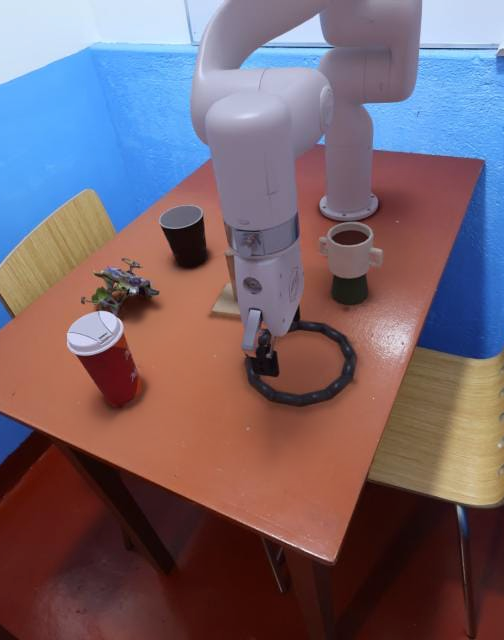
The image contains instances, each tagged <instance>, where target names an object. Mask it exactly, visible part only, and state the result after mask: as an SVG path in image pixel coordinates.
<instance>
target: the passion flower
mask: <svg viewBox="0 0 504 640" xmlns="http://www.w3.org/2000/svg"><path fill="white" fill-rule="evenodd" d="M121 261H122V262H123V263H126V264H128V265H129V269H128V270H126V271H124V270H123V269H122V268H118V267H115V266H106V268H104V270H101V271H100V273H99V272H96V270H92V273H93V275H94V276H96V277H97V278H100V279H102V280H103V281H104V282H105V285H106V287H104V286H103V285H101V286H100V287H97V288H96V289H95V293H93V294H92V295H91V300H88V299H87V300H86V296H81V297H80V303H81V304H82V305H85V304H86V303H91V304H93V306H97V305H99V304H100V310H99V311H105V308H106V307H107V306H109V308H110V310H111V313H112V314H113V315H115V316H116V317H117V314H118V313H119V312H120V310H121V309H122V306H121V305H122V304H123V303H124V300H125V299H126V298H127V297H128V296H131V297H134V296H136V295H139V296H141V297H142V298H146V299H153V296H159V295H160V290H157V289H154V288H153V283H152V282H150V280H149V279H144V278H142V277H139V276H138V275H136V274H135V273H134V272H133V269H141V268H144V266H142V265H141V264H140V263H139V262H136V261H135V260H131V259H128V258H125V257H121ZM115 284H116V285H115ZM114 292H119V295H118V298H117V299H115V298H114V296H113V293H114ZM123 292H124V293H125V294H124V296H123V298H122V299H121V295H122V293H123ZM110 301H111V302H113V303H114V304H111V303H109V302H110Z"/></svg>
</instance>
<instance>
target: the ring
mask: <svg viewBox="0 0 504 640" xmlns="http://www.w3.org/2000/svg"><path fill="white" fill-rule="evenodd" d="M297 331H305V332H311V333H319V334H322V335H323V336H325V337H327V338H328V339H330V340H332V341H333V342H335V343H336V344H337V345H338V348H339V350H340V351H341V354H342V355H343V358H344V361H343V364H342V369H341V372H340V375H339V376H338V377H336V378H335V379H334V380H333V381H332V382H331V383H329V384H328V386H326V387H325V388H323V389H319V390H315V391H311V392H306V393H302V394H297V393H292V392H285V391H281V390H276V389H275V388H274V387H272V386H271V385H270V384H269V383H267V382H266V381H264V380H263V379H262V378H261V375H258V374H255V373H253V370H252V365H251V360H250V356H246V357H245V359H244V362H243V364H244V368H245V372H246V376H247V380H248V384H249V386H250V387H251V388H253V389H254V390H255V391H256V392H258V393H259V394H260V395H261V396H263V397H264V398H265V399H266V400H267V401H269V402H270V403H275V404H282V405H287V406H292V407H297V408H304V407H307V406H312V405H315V404H319V403H323V402H328V401H331V400H333V399H334V398H335V397H336V396H337V395H338V394H340V393H341V392H342V391H343V390H344V389H345V388H347V387H348V386H349V385H350V384H351V383H352V382H353V379H354V376H355V372H356V368H357V363H358V355H357V353H356V351H355V349H354V347H353V346H352V344H351V342H350V339H349V338H348V336H347V335H345V334H344V333H342V332H340V331H339V330H338V329H336V328H333V327H332V326H330V325H329V324H327V323H325V322H316V321H309V320H301V319H300V320H299V321H298V322H292V323H291V325H290V328H289V330H288V331H287V333H286V334H288V333H293V332H297ZM277 337H278V336H275V338H277ZM267 338H268V335H266V334H260V335H259V337H258V344H259V345H260V346H267Z"/></svg>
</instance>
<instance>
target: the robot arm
mask: <svg viewBox="0 0 504 640" xmlns="http://www.w3.org/2000/svg"><path fill="white" fill-rule="evenodd" d="M317 15H318V16H319V17H318V18H319V24H320V29H321V34H322V37H323V39H324V41H325V42H326V43H327V44H328V45H329V46H331V47H332V48H330V49H328V50H326V52H324V53H323V55H322V56H321V58H320V59H319V62H318V63H317V64H318V65H317V69H315V68H311V67H307V66H288V67H287V66H285V67H284V66H283V67H261V68H260V67H259V68H241V67H242V65H243V64H244V63H245V62H246V60H248V58H250V56H251V55H252V54H254V52H255V51H257V50H258V49H260V48H261V47H262V46H264V45H266V44H267V43H269V42H271V41H272V40H274V39H276V38H279V37H280V36H283V35H284V34H287V33H288V32H290V31H292V30H294V29H295V28H297V27H299V26H301V25H303V24H304V23H306V22H308V21H309V20H311V19H313V18H314V17H315V16H317ZM422 17H423V0H224V1H223V2H222V3H221V4H220V6H219V7H218V8H217V9H216V10H215V12H214V13H213V14H212V16H211V17H210V19H209V21H208V22H207V24H206V26H205V28H204V30H203V32H202V35H201V37H200V41H199V44H198V48H197V54H196V57H195V58H196V59H195V63H194V69H193V74H192V75H193V76H192V79H191V87H190V97H189V111H190V112H189V115H190V121H191V124H192V128H193V131H194V133H195V134H196V137H197V138H198V140H200V142H202V144H204V145H206V146H207V147H208V150H209V154H210V159H211V164H212V169H213V174H214V179H215V184H216V190H217V194H218V195H217V196H218V201H219V204H220V209H221V214H222V221H223V226H224V231H225V236H226V241H227V246H228V249H230V250H231V252H232V253H233V254H234V267H235V279H236V289H237V297H238V304H239V310H240V315H241V316H240V320H241V323H242V326H243V328H244V333H243V338H242V340H241V346H240V347H241V349H240V350H241V351H242V352H243V353H244V355H245V356H246V357H247V356H250V360H251V365H252V370H253V373H255V374H258V375H260V376H263V377H271V378H279V377H280V374H281V372H280V363H279V358H278V351H277V350H275V340H276V337H275V336H277V337H278V338H282V337H284V336H285V335H286V334H288V333H287V331H288V330H289V328H290V325H291V323H292V322H298V321H299V320H301V310H300V309H301V307H300V303H301V300H302V296H303V294H304V290H305V286H306V285H305V283H306V282H305V274H304V267H303V257H302V251H301V244H300V240H301V229H300V213H299V202H298V188H297V187H298V186H297V175H296V164H295V163H296V160H298V159H299V158H300V157H302V156H303V155H305V154H306V153H307V152H309V151H310V150H312V149H313V148H314V147H315V146H317V144H319V143H320V141H321V140H322V139H323V138H324V162H325V163H324V165H325V195H324V196H323V197H322V198H321V199H320V201H319V211H320V212H321V214H322V215H324V216H325V217H326V218H328V219H330V220H334V221H339V222H355V221H360V220H363V219H366V218H368V217H370V216H372V215H373V214H374V213H375V212H376V211H377V209H378V208H379V199H378V197H377V196H376V195H375V193H373V192H372V180H373V179H372V178H373V155H374V135H375V133H374V132H375V130H374V129H375V128H374V127H375V126H374V122H373V119H372V117H371V114H370V112H368V109H367V108H366V107H365V105H367V104H394V103H395V104H396V103H402V102H404V101H406V100H408V99H409V98H410V97H411V96H412V95H413V93H414V92H415V88H416V85H417V79H418V73H419V72H418V70H419V62H420V61H419V60H420V47H421V33H422V21H423V20H422ZM262 323H263V324H264V326H265V327H262ZM262 334H266V335H268V338H267V344H266V345H265V346H260V345H259V344H258V337H260V335H262Z"/></svg>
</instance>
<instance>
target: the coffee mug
mask: <svg viewBox="0 0 504 640" xmlns="http://www.w3.org/2000/svg"><path fill="white" fill-rule="evenodd" d="M158 223H159V226H160V228H161V231H162V232H163V234H164V237H165V239H166V241H167V243H168V246H169V248H170V250H171V252H172V254H173V257H174V259H175V261H176V263H177V265H178V266H179V267H180V268H182V269H194V268H198V267H200V266H202V265H203V264H205V263H206V262H207V261H208V247H207V238H206V227H205V218H204V210H203V209H202V208H201V207H200V206H198V205H195V204H183V205H182V204H181V205H177V206H174V207H171V208H168V209H167V210H165V211H164V212H162V213H161V215H160V216H159V218H158Z"/></svg>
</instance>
